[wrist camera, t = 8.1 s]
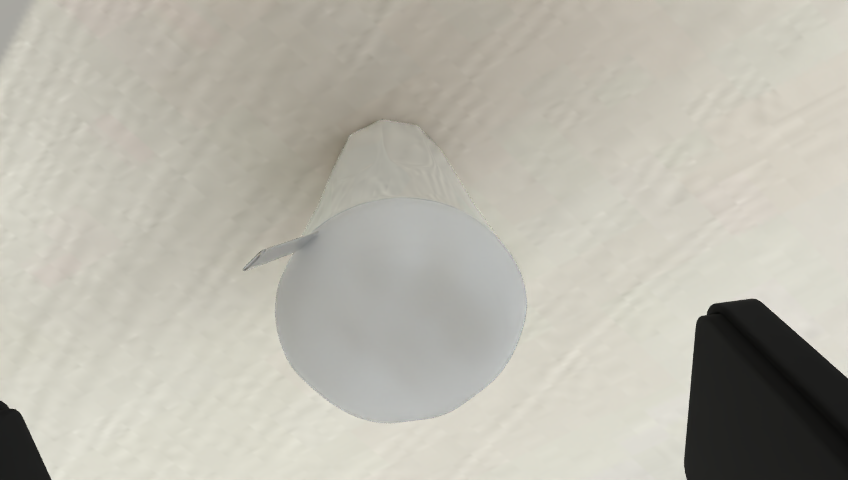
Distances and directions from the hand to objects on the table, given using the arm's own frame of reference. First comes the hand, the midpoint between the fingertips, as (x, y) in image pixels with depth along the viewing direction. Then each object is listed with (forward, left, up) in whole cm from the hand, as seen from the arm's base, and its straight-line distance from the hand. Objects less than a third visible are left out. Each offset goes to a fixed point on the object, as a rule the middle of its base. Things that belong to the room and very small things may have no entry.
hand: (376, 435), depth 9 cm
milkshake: (0, 0, -11) cm, 11 cm away
